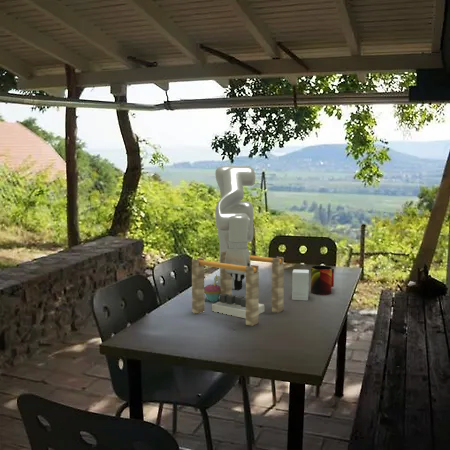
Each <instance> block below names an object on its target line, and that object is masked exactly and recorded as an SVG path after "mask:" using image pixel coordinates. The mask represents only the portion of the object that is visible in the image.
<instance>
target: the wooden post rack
mask: <svg viewBox="0 0 450 450" xmlns="http://www.w3.org/2000/svg"><path fill="white" fill-rule="evenodd" d="M226 252H227V251H225V252H221V257H220V256H219V263H225V258H226ZM271 258H272V263H271V312H272V313H276V314H278V313H281V312H283V311H284V290H285V289H284V284H285V283H284V279H285V278H284V277H285V276H284V275H285V263H284V260H285V258H284V257H283V256H276V257H271ZM280 259H281V261H282V262H281V263H280ZM199 260H203V261H205V258H204V257H197V258H193V259H191V296H192V297H191V310H192V311H191V313H192V312H194V313H193V314H195V313H200V312H202V313H204V312H203V311H205V309H206V307H205V304H206V302H205V301H206V300H205V296H206V295H205V293H204V288H205V266H203V265H199ZM254 268H256V272H254ZM259 273H260V271H259V265H256V264H255V265H254V264H251V267H248V266H247V267H246V277H245V298H246V318H245V325H246V326H250V327H253V326H255V325H257V324H259V315H260V314H259V304H260V303H259V300H260V298H259V296H260V295H259V291H260V290H259V280H260V279H259V278H260V277H259ZM219 276H220V280H221V294H220V295H222V294H229V295H233V291H232V290H233V289H232V276H231V275H229V274H227V272H226V271H225V269H224V268H219ZM200 314H201V313H200Z"/></svg>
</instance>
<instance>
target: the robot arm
mask: <svg viewBox="0 0 450 450" xmlns="http://www.w3.org/2000/svg"><path fill="white" fill-rule="evenodd" d="M255 173H256V172H255V170H254V168H253V167H252V166H248V165H225V166H224V165H223V166H219V167H217V168H216V169H215V173H214V175H215V180H216V183H217V186H218V188H219V193H220V199H219V200H218V202H217V204H216V206H215V212H214V213H215V215H214V216H215V226H216V229H217V236H218V243H219V258H220V257H221V252H225V251H227V252H226V258H225V264H233V265H240V266H248V267H251V265H252V263H251V260H250V255H251V254H250V251H249V250H250V249H249V248H248V243H250V242H252V241H253V239H254V232H255V231H254V207H253V204H252V202H251V201H248V200H243V199H244V195H245V194H244V193H245V192H244V187H246V186H247V187H251V186H254V184H255V182H256V174H255ZM225 271H226V272H227V274H229V275H231V276H232V290H234V291H241V290H242V289H243V280H244V279H246V272H245V271H238V270H231V269H225ZM213 281H215V277H214V280H213ZM216 285H218V286H220V287H221V280H220V275H217V279H216Z"/></svg>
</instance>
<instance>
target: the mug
mask: <svg viewBox="0 0 450 450" xmlns="http://www.w3.org/2000/svg"><path fill="white" fill-rule="evenodd" d="M334 274H335V268H332V267H331V266H328V265H313V266H311V267H310V294H312V295H316V296H329V295H331V294H332V288H334V286H335V285H334V283H335V282H334V278H335V277H334V276H335V275H334Z"/></svg>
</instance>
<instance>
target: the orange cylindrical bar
mask: <svg viewBox="0 0 450 450" xmlns="http://www.w3.org/2000/svg"><path fill="white" fill-rule="evenodd" d="M272 258H273V257H267V256H266V257H265V256H259V255H251V254H250V261H255V262H263V263H269V264H272ZM281 262H282V261H281V259H280V263H281Z"/></svg>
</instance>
